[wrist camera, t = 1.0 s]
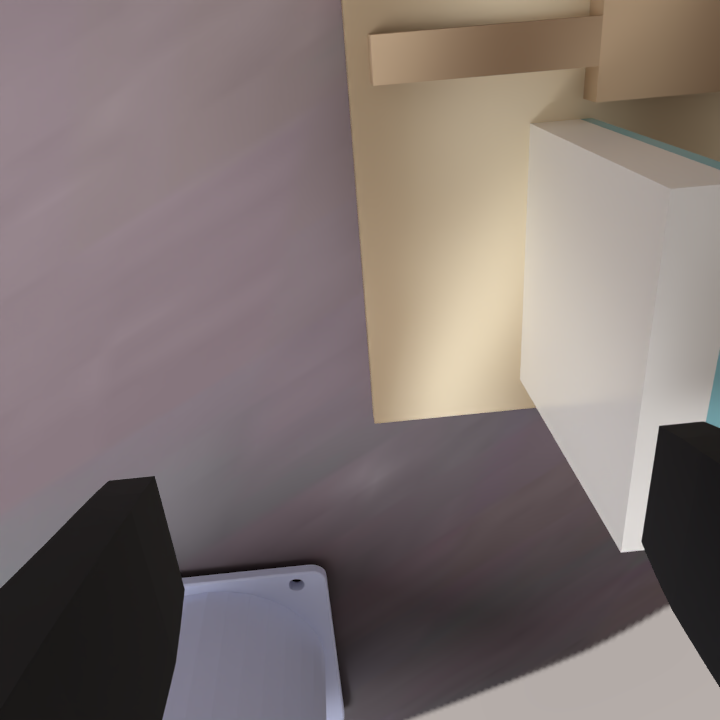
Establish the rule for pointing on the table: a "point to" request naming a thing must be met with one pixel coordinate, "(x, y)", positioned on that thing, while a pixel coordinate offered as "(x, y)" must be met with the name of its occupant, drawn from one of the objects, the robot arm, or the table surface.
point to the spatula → (571, 49)
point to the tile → (619, 303)
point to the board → (464, 203)
